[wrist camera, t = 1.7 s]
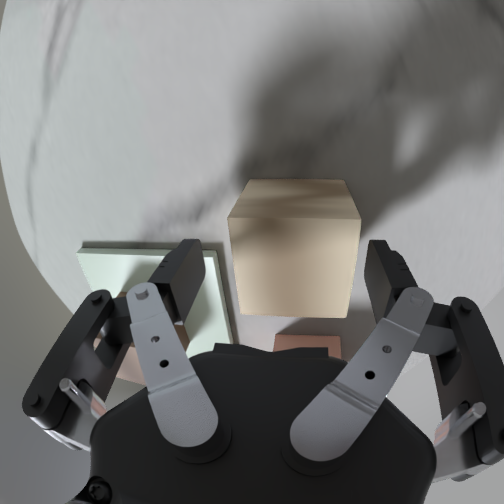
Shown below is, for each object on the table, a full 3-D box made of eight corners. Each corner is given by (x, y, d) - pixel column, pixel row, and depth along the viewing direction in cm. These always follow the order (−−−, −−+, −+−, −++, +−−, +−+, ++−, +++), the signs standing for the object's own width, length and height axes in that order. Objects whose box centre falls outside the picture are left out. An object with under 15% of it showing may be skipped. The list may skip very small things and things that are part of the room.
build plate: (216, 250, 17) (212, 257, 17) (237, 363, 23) (235, 370, 23) (81, 247, 19) (75, 253, 19) (127, 345, 26) (124, 350, 25)
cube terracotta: (339, 335, 20) (342, 390, 16) (331, 370, 22) (331, 419, 18) (275, 333, 21) (267, 388, 16) (276, 368, 23) (269, 416, 19)
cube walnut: (174, 297, 19) (145, 350, 15) (190, 342, 22) (169, 391, 17) (120, 291, 20) (88, 335, 16) (140, 334, 23) (116, 376, 18)
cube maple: (343, 179, 14) (361, 219, 9) (337, 258, 16) (346, 317, 12) (249, 179, 14) (227, 217, 10) (256, 257, 17) (240, 314, 13)
